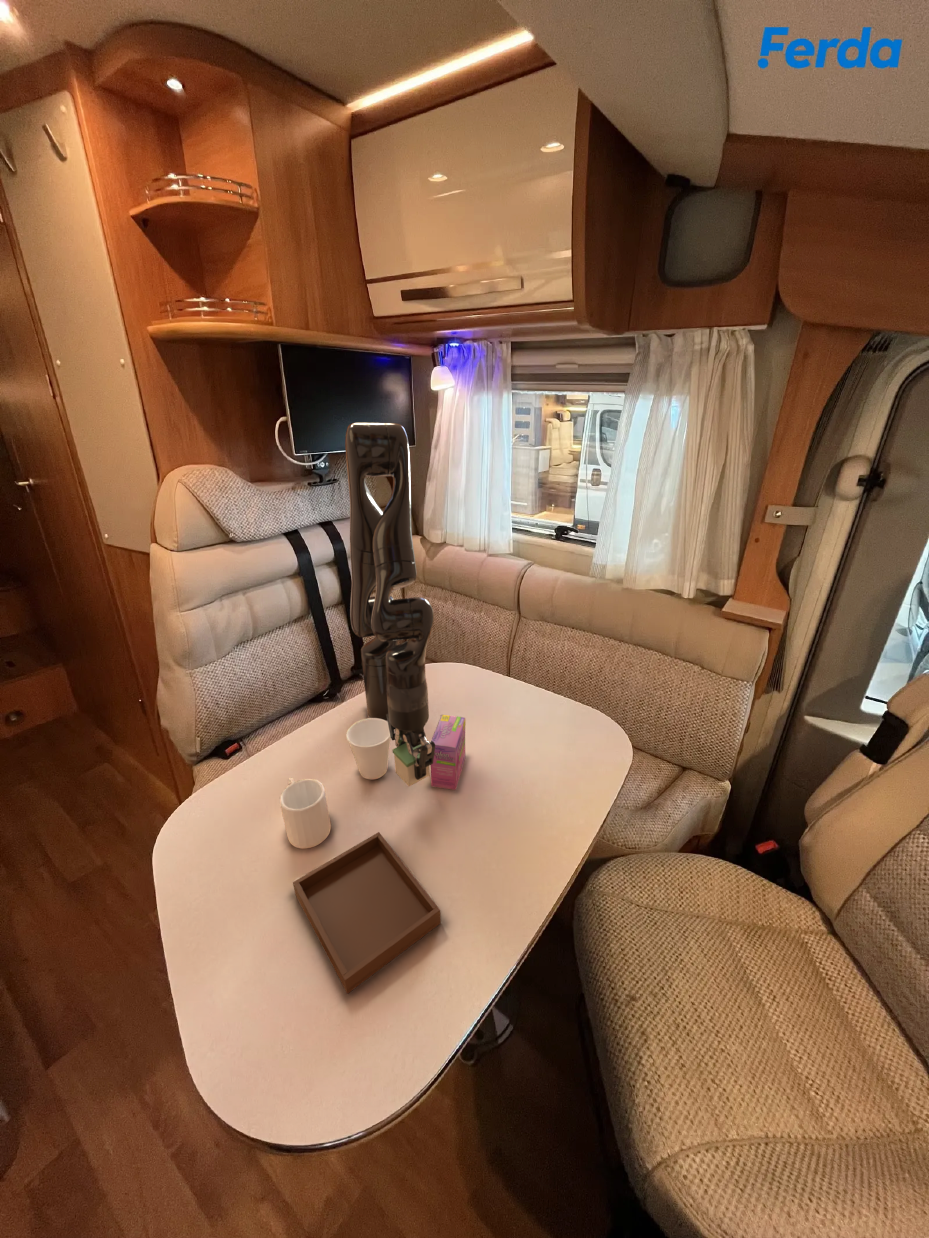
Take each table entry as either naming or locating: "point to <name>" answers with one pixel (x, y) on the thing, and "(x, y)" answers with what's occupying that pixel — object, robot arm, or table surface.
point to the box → (448, 752)
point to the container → (406, 765)
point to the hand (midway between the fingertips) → (412, 768)
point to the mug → (305, 812)
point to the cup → (370, 746)
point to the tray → (365, 909)
